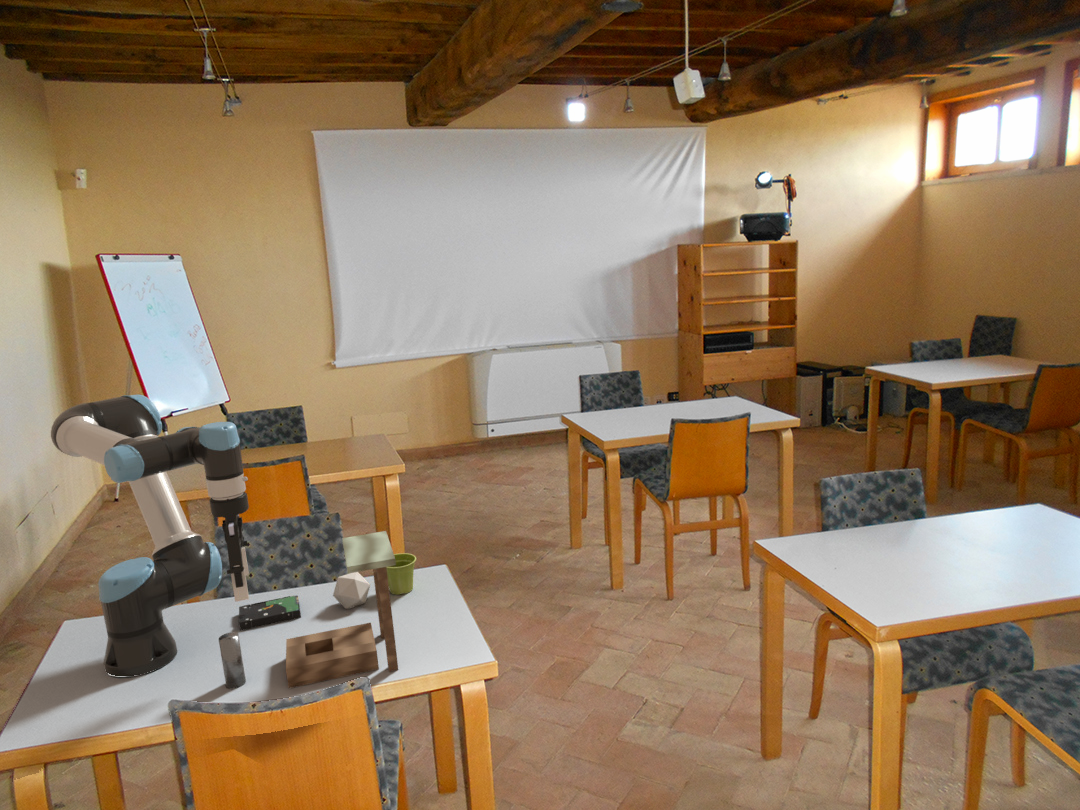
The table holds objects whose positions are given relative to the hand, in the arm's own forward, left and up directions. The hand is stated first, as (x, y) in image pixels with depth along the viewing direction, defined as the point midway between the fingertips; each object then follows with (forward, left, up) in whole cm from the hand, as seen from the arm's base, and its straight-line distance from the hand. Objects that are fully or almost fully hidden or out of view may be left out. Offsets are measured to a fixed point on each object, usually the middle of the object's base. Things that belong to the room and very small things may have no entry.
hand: (242, 587), depth 171 cm
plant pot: (+36, +27, -20) cm, 50 cm away
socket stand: (+20, -5, -20) cm, 28 cm away
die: (+23, +24, -20) cm, 39 cm away
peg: (-4, -5, -20) cm, 21 cm away
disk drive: (+3, +27, -20) cm, 34 cm away
